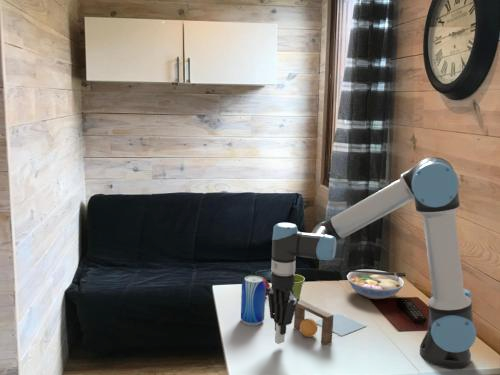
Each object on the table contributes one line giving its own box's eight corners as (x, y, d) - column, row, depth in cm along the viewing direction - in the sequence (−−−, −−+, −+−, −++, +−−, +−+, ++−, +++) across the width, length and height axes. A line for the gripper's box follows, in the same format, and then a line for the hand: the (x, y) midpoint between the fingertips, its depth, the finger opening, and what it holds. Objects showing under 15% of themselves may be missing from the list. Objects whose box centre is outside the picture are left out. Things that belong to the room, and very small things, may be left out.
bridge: (299, 325, 184) (301, 299, 183) (331, 342, 173) (333, 315, 171) (293, 328, 182) (295, 301, 181) (325, 345, 171) (327, 317, 169)
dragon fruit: (255, 306, 204) (257, 298, 216) (273, 294, 203) (274, 287, 215) (243, 287, 204) (245, 281, 216) (261, 276, 203) (263, 270, 215)
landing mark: (366, 326, 185) (366, 326, 185) (341, 336, 177) (341, 335, 177) (338, 313, 195) (338, 313, 195) (313, 322, 187) (313, 322, 187)
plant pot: (302, 304, 203) (303, 283, 201) (278, 302, 205) (279, 280, 203) (304, 295, 212) (305, 275, 210) (281, 293, 214) (282, 272, 212)
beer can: (259, 328, 181) (261, 284, 179) (237, 324, 184) (238, 281, 181) (267, 318, 189) (268, 276, 186) (245, 314, 192) (246, 273, 189)
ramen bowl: (342, 303, 205) (344, 283, 203) (343, 283, 227) (344, 265, 226) (408, 310, 201) (410, 290, 199) (402, 288, 223) (404, 270, 221)
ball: (322, 322, 176) (311, 322, 172) (318, 339, 176) (307, 340, 172) (310, 315, 181) (298, 315, 177) (305, 332, 181) (294, 332, 177)
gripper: (260, 268, 166) (257, 337, 171) (288, 280, 156) (284, 353, 161) (278, 264, 171) (275, 331, 175) (306, 276, 161) (302, 346, 165)
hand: (279, 342), depth 168 cm, fingers closed
